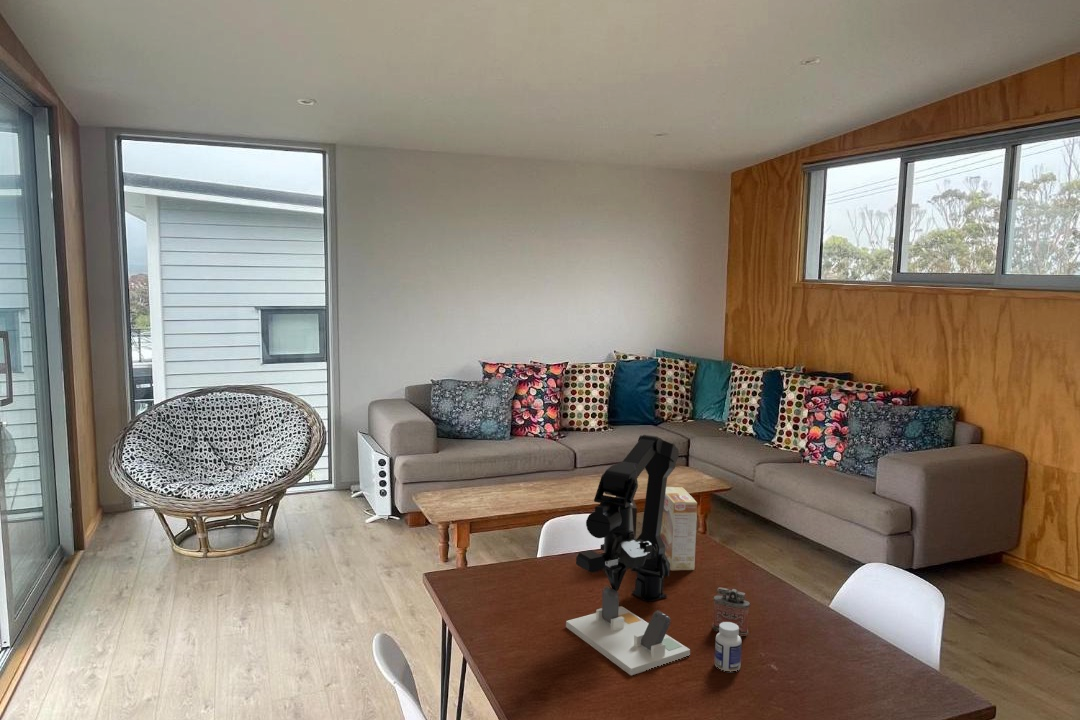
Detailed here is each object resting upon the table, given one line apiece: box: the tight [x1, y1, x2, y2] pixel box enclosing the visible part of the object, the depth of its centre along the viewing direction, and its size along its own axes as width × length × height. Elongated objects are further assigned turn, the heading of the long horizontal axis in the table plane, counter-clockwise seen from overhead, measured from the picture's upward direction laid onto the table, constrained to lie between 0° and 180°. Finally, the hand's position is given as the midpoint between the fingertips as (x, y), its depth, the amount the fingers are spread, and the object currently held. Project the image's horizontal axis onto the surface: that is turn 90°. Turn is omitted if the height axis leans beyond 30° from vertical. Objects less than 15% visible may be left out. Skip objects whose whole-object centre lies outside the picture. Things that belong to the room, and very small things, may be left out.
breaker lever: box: [601, 585, 620, 624], centre depth 172 cm, size 2×4×8 cm, turn 31°
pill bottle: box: [714, 622, 742, 673], centre depth 158 cm, size 5×5×9 cm
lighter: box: [711, 587, 751, 635], centre depth 173 cm, size 8×3×10 cm, turn 65°
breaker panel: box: [565, 605, 691, 676], centre depth 167 cm, size 16×24×9 cm, turn 31°
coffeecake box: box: [660, 486, 698, 571], centre depth 215 cm, size 15×7×20 cm, turn 5°
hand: (615, 591), depth 172 cm, fingers closed, pressing on breaker lever
